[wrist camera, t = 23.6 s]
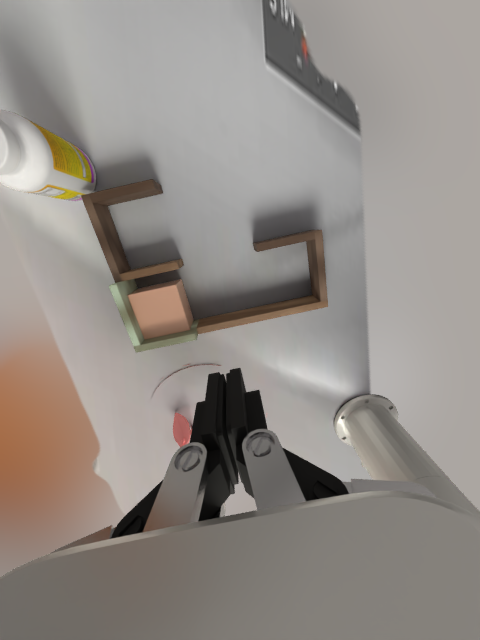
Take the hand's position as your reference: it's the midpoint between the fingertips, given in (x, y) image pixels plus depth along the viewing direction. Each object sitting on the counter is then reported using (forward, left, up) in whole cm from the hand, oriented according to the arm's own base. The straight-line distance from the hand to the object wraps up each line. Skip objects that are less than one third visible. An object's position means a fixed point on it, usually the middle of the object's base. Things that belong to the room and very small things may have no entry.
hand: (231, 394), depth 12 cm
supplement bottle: (+19, +17, -27) cm, 37 cm away
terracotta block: (-1, +10, -27) cm, 29 cm away
